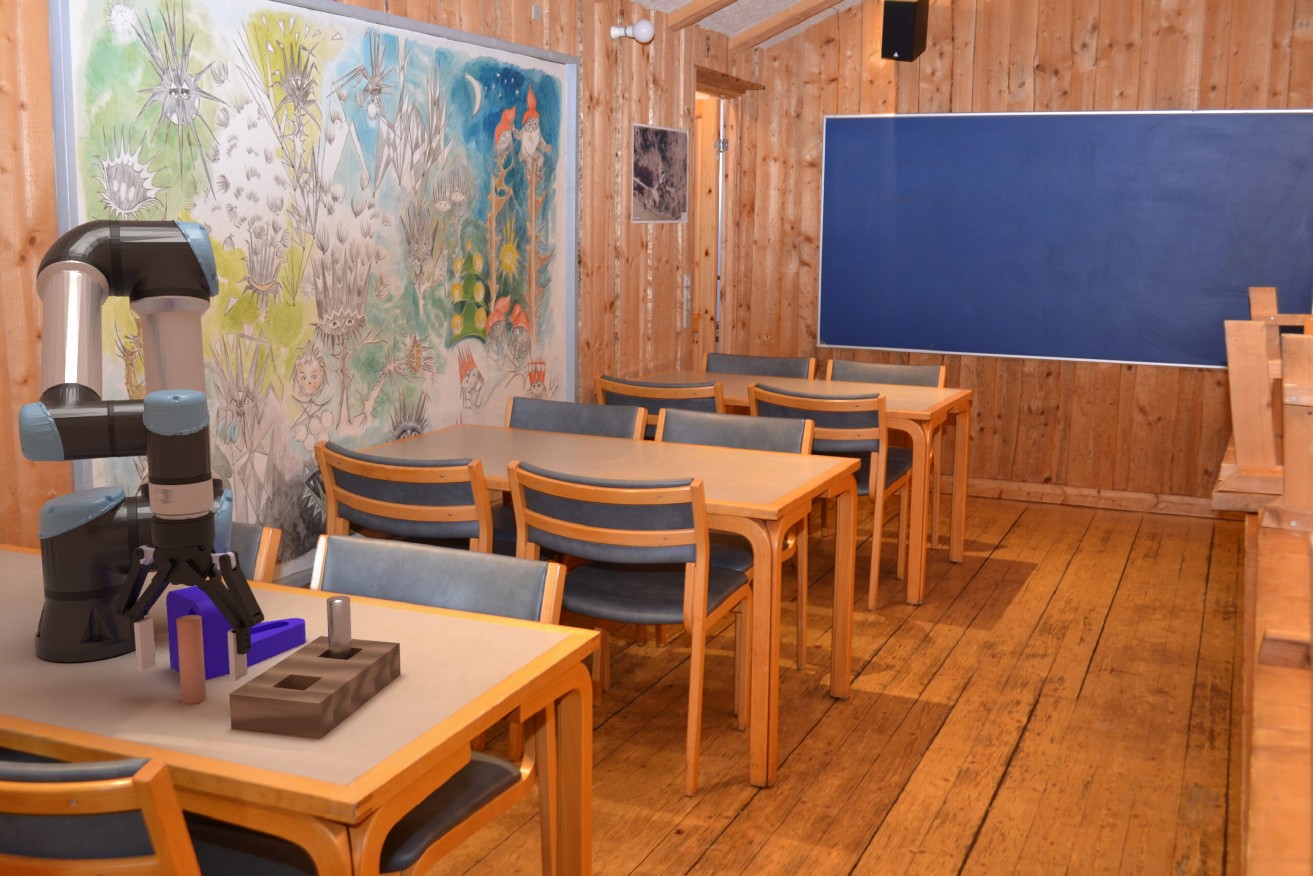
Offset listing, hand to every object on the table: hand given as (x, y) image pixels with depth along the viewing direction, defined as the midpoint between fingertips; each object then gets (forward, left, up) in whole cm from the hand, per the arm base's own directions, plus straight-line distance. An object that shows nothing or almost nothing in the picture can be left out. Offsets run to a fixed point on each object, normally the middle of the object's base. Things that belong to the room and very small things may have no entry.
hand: (192, 672), depth 151 cm
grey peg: (+16, +10, -4) cm, 19 cm away
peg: (0, 0, -5) cm, 5 cm away
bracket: (-3, +17, -5) cm, 18 cm away
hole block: (+16, +4, -5) cm, 17 cm away
